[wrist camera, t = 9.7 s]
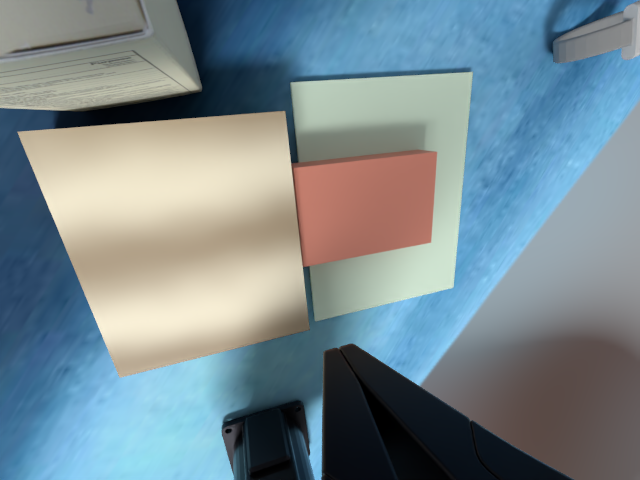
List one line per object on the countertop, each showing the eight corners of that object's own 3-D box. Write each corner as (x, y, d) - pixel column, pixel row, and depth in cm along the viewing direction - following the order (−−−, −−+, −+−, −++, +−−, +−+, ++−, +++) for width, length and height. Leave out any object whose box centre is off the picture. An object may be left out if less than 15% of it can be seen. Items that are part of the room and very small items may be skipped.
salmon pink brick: (418, 149, 21) (437, 151, 19) (414, 233, 23) (431, 242, 21) (286, 163, 19) (293, 167, 17) (296, 254, 21) (303, 267, 19)
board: (299, 305, 23) (309, 329, 20) (133, 343, 20) (119, 377, 17) (275, 113, 18) (285, 110, 15) (54, 130, 15) (17, 131, 12)
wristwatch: (533, 80, 22) (613, 69, 17) (530, 37, 21) (615, 12, 16) (602, 48, 23) (696, 28, 18) (603, 4, 21) (704, -28, 17)
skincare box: (175, -5, 15) (40, -375, 4) (205, 96, 17) (170, 39, 6) (27, 11, 14) (-790, -463, 3) (76, 118, 15) (-294, 101, 4)
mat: (451, 285, 26) (453, 287, 26) (314, 319, 23) (315, 321, 23) (469, 72, 20) (472, 71, 20) (289, 82, 17) (290, 82, 17)
